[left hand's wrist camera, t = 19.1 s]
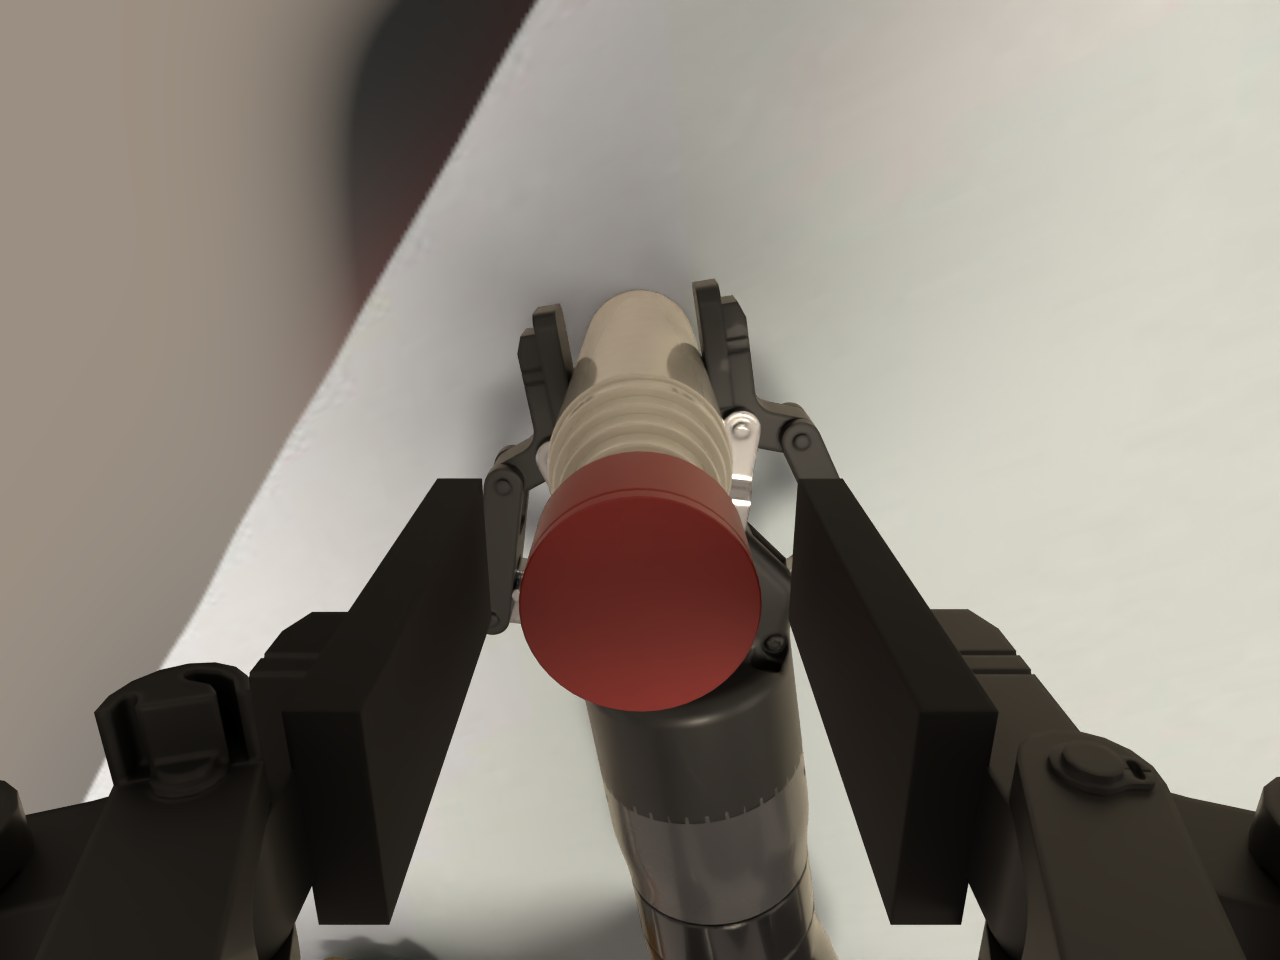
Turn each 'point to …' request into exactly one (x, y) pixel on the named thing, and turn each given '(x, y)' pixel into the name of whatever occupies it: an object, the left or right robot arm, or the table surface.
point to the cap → (640, 584)
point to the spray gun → (336, 958)
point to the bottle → (640, 393)
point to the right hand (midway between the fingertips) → (624, 299)
